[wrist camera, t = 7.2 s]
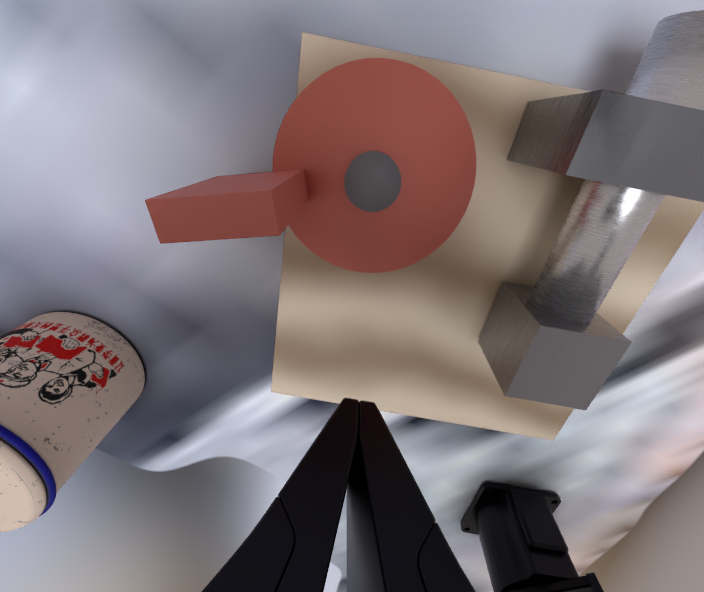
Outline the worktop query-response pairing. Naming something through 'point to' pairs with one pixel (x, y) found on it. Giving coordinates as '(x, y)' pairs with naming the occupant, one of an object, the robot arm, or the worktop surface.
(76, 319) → the teacup with lid
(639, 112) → the eye post
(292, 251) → the base board
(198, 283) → the worktop surface
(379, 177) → the handwheel
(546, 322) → the grey rod with block
